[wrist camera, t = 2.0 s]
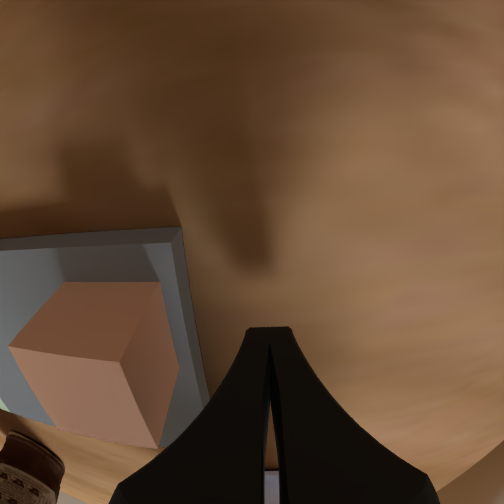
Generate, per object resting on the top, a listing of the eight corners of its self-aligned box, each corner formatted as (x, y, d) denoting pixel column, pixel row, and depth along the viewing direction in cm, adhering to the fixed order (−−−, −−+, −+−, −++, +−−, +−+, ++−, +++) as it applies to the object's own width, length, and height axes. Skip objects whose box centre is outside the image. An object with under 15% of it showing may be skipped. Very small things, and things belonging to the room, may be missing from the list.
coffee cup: (6, 411, 18) (-53, 526, 6) (87, 466, 20) (49, 586, 8) (-4, 434, 21) (-48, 524, 9) (61, 479, 23) (29, 571, 11)
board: (216, 430, 16) (211, 478, 13) (-34, 380, 17) (-52, 404, 14) (181, 226, 11) (154, 268, 8) (-93, 249, 12) (-122, 269, 9)
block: (179, 367, 12) (158, 449, 9) (94, 361, 12) (58, 429, 9) (159, 281, 11) (119, 362, 7) (65, 281, 11) (7, 345, 7)
